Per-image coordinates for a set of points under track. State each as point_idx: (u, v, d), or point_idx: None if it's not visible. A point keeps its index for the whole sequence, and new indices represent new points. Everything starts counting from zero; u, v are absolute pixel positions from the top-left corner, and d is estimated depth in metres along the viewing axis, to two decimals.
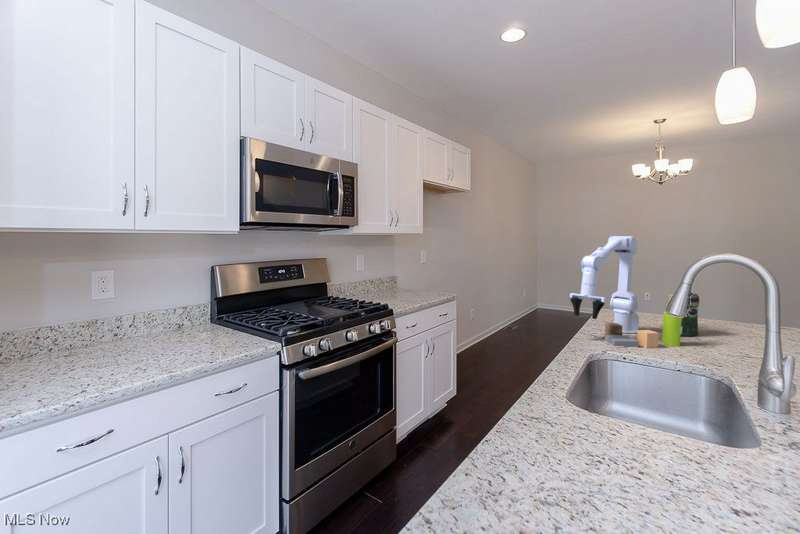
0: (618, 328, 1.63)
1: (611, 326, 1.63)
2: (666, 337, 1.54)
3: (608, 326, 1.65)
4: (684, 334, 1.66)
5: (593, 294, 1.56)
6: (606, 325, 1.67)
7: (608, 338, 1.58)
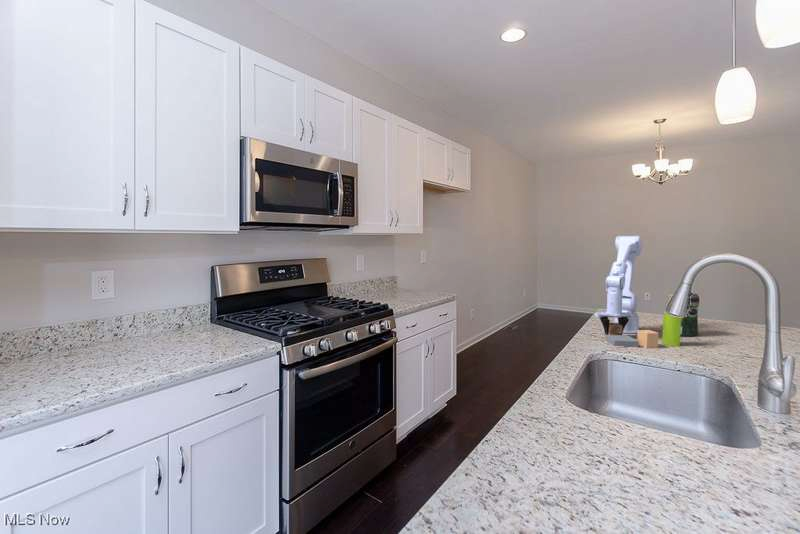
0: (618, 328, 1.63)
1: (611, 326, 1.63)
2: (666, 337, 1.54)
3: None
4: (684, 334, 1.66)
5: (621, 312, 1.64)
6: None
7: (608, 338, 1.58)
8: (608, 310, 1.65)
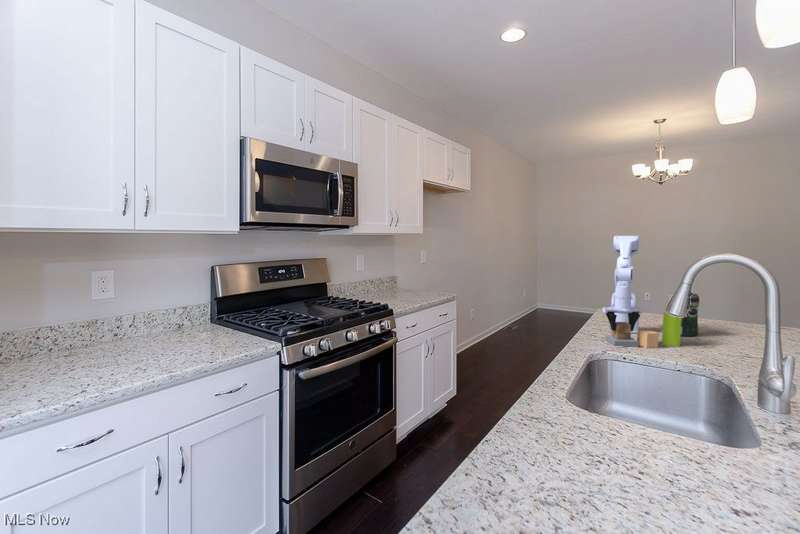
0: (626, 328, 1.53)
1: (619, 325, 1.54)
2: (666, 337, 1.54)
3: (615, 325, 1.55)
4: (684, 334, 1.66)
5: (630, 307, 1.54)
6: None
7: (608, 338, 1.58)
8: (616, 305, 1.54)
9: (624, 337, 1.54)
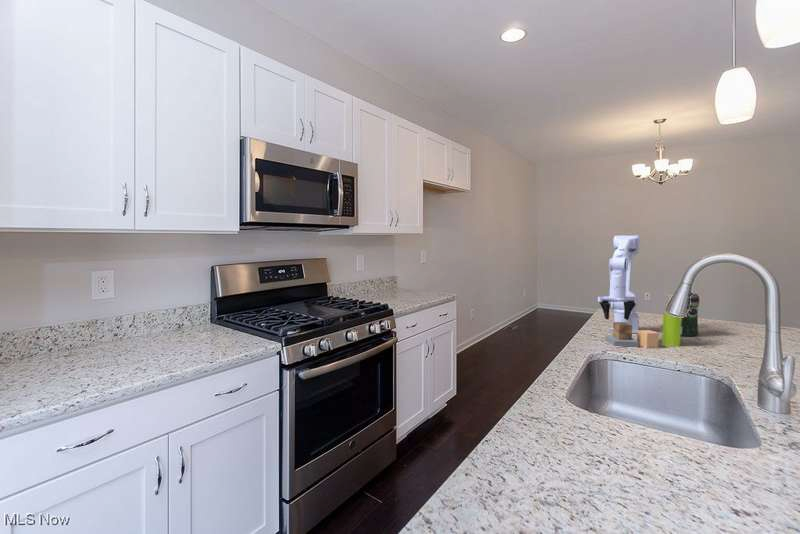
0: (627, 328, 1.53)
1: (620, 326, 1.54)
2: (666, 337, 1.54)
3: (617, 326, 1.55)
4: (684, 334, 1.66)
5: (625, 296, 1.56)
6: (615, 325, 1.57)
7: (608, 338, 1.58)
8: (611, 294, 1.56)
9: (625, 337, 1.54)
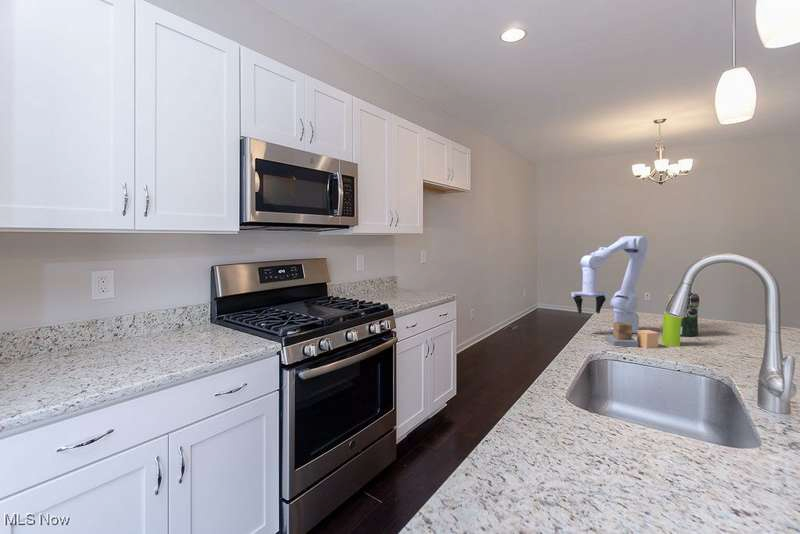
0: (627, 328, 1.53)
1: (620, 326, 1.53)
2: (666, 337, 1.54)
3: (617, 326, 1.55)
4: (684, 334, 1.66)
5: (596, 291, 1.68)
6: (614, 325, 1.57)
7: (608, 338, 1.58)
8: (583, 289, 1.69)
9: (625, 337, 1.53)
